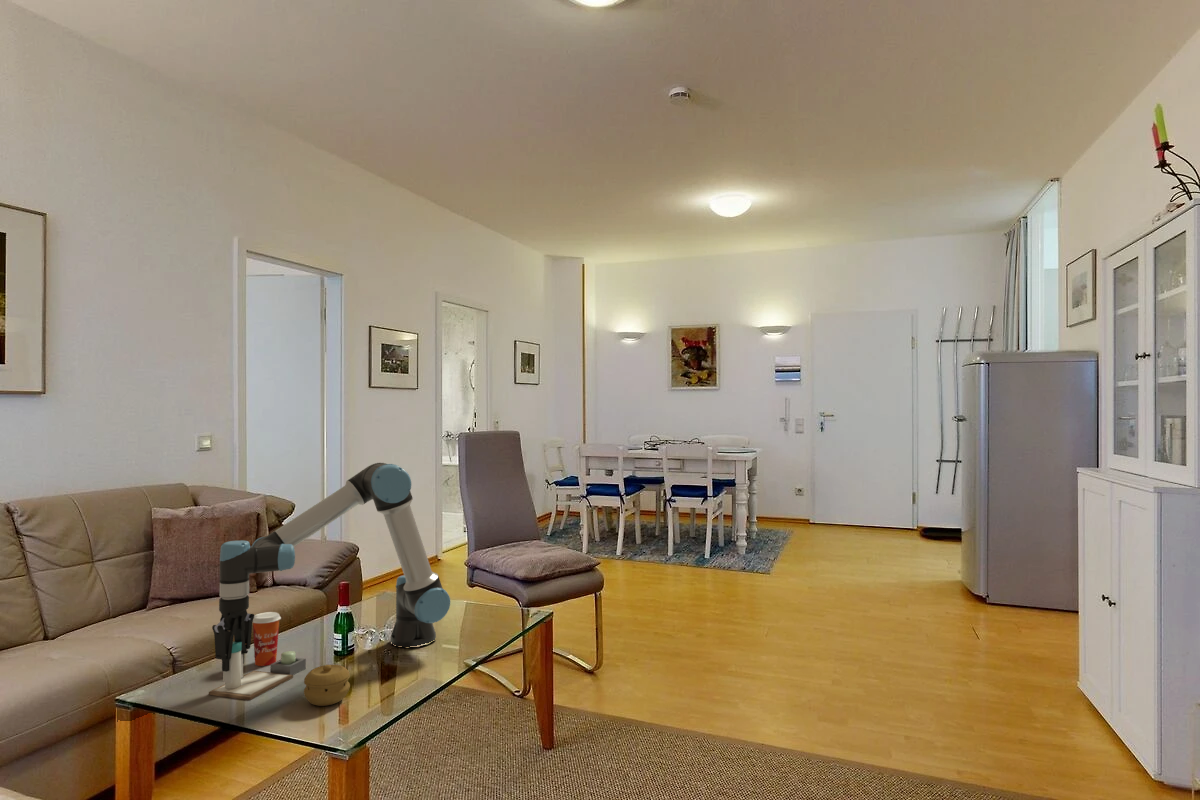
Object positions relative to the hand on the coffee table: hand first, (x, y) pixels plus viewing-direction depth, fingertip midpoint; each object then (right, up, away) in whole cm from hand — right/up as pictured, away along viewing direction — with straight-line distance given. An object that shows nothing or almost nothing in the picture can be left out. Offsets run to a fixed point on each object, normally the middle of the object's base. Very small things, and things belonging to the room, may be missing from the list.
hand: (233, 679), depth 198 cm
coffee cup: (-1, -4, +22) cm, 22 cm away
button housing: (+9, -3, +15) cm, 18 cm away
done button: (+9, -2, +15) cm, 17 cm away
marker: (0, -2, 0) cm, 2 cm away
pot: (+30, -3, -8) cm, 31 cm away
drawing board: (+4, -3, +3) cm, 6 cm away
